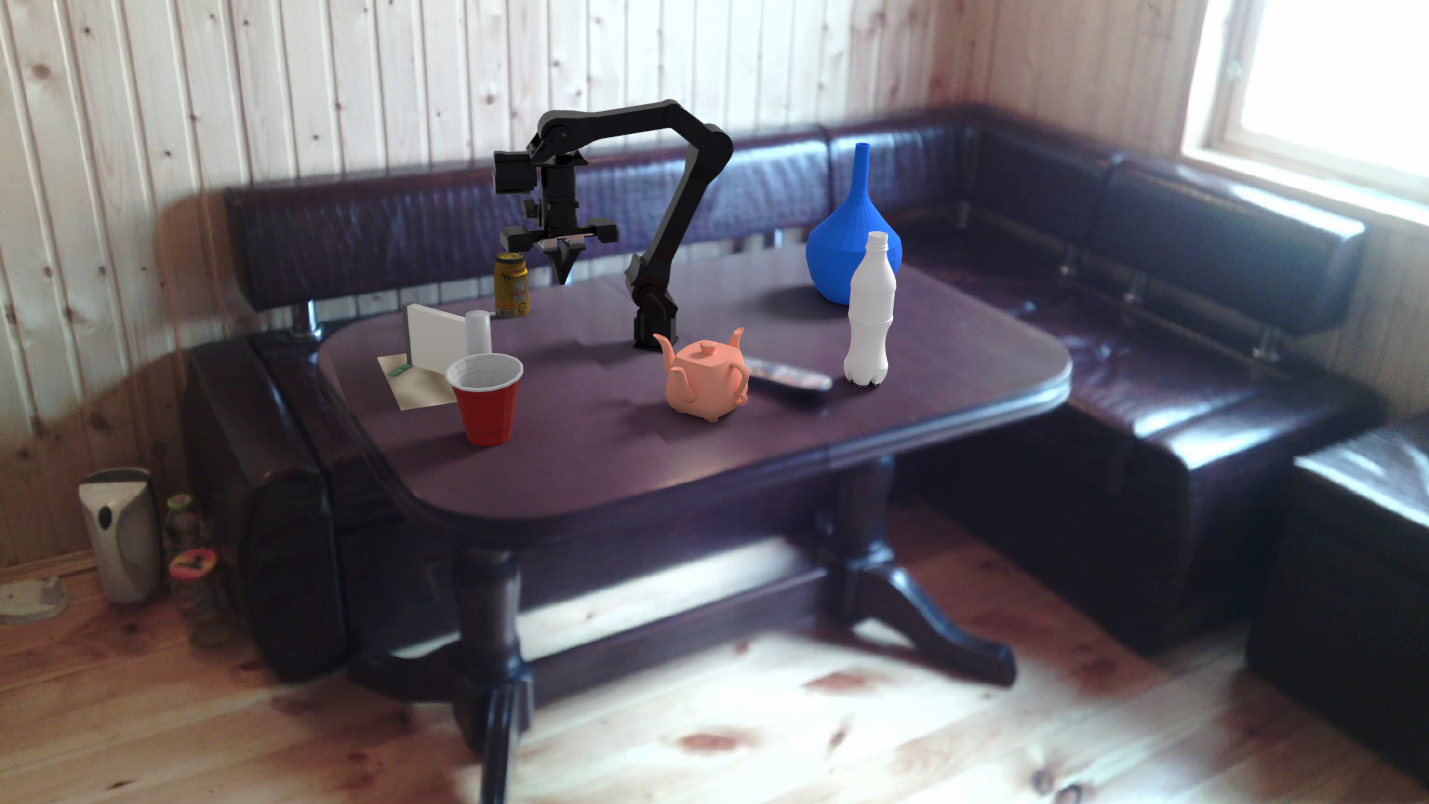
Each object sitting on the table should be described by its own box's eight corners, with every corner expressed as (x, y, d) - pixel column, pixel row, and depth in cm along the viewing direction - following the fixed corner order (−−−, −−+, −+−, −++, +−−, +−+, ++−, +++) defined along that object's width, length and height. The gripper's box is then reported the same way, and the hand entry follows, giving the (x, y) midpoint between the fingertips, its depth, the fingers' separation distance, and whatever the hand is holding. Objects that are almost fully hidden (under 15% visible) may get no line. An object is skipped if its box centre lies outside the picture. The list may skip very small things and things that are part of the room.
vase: (806, 277, 235) (815, 130, 222) (897, 284, 233) (912, 136, 220) (799, 310, 219) (809, 152, 206) (897, 317, 217) (914, 159, 204)
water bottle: (890, 375, 193) (905, 230, 182) (881, 392, 187) (896, 243, 176) (848, 368, 195) (860, 224, 184) (837, 385, 189) (850, 237, 178)
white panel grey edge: (498, 385, 181) (494, 313, 176) (483, 393, 178) (478, 320, 173) (419, 360, 189) (413, 291, 183) (403, 368, 186) (396, 297, 181)
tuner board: (474, 350, 197) (473, 342, 196) (506, 401, 180) (506, 392, 179) (377, 364, 191) (376, 355, 190) (401, 417, 174) (401, 408, 173)
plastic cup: (435, 451, 165) (428, 374, 159) (478, 421, 174) (474, 347, 168) (500, 468, 161) (495, 390, 156) (541, 436, 170) (538, 361, 165)
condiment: (527, 309, 215) (525, 247, 210) (537, 326, 208) (535, 262, 203) (488, 313, 213) (484, 251, 208) (497, 330, 206) (493, 266, 200)
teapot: (670, 433, 172) (671, 365, 167) (652, 392, 184) (652, 328, 180) (764, 425, 175) (768, 358, 170) (740, 385, 188) (743, 322, 183)
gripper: (597, 175, 196) (598, 263, 203) (488, 184, 189) (493, 275, 196) (620, 192, 187) (620, 283, 194) (506, 202, 180) (511, 297, 187)
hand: (561, 284), depth 193 cm, fingers closed
